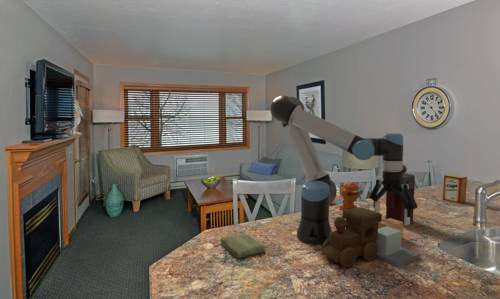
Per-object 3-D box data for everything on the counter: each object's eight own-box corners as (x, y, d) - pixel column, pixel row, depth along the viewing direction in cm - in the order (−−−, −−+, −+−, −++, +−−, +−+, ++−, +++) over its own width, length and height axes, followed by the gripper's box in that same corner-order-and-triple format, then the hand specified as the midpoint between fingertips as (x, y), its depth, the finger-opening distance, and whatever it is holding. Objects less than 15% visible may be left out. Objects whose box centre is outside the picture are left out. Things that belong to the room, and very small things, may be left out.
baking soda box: (442, 199, 179) (444, 174, 178) (448, 198, 182) (450, 173, 181) (459, 203, 171) (461, 177, 170) (465, 202, 174) (467, 176, 173)
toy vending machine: (382, 219, 144) (384, 164, 142) (396, 215, 150) (398, 163, 147) (399, 225, 137) (401, 167, 134) (413, 221, 142) (415, 165, 139)
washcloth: (246, 237, 125) (246, 230, 125) (267, 253, 109) (267, 245, 109) (218, 243, 119) (218, 235, 118) (236, 261, 103) (236, 252, 103)
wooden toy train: (358, 246, 114) (359, 205, 112) (382, 258, 104) (384, 214, 102) (318, 257, 105) (319, 213, 104) (340, 271, 95) (341, 223, 93)
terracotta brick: (389, 242, 117) (390, 226, 117) (376, 237, 123) (377, 221, 122) (402, 238, 122) (403, 222, 121) (389, 233, 127) (390, 218, 126)
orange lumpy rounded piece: (356, 219, 145) (357, 184, 144) (335, 215, 152) (336, 181, 150) (363, 213, 154) (364, 180, 152) (342, 209, 161) (343, 178, 159)
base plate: (398, 267, 97) (398, 263, 97) (355, 247, 113) (355, 243, 113) (419, 258, 104) (420, 253, 104) (376, 240, 119) (376, 236, 119)
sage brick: (385, 254, 103) (386, 235, 103) (371, 248, 108) (372, 230, 108) (400, 248, 108) (401, 231, 107) (386, 243, 113) (387, 226, 112)
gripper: (428, 173, 111) (426, 226, 112) (372, 166, 132) (371, 210, 134) (417, 175, 107) (415, 230, 109) (361, 167, 128) (361, 213, 130)
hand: (391, 219), depth 121 cm, fingers open, 13 cm apart
